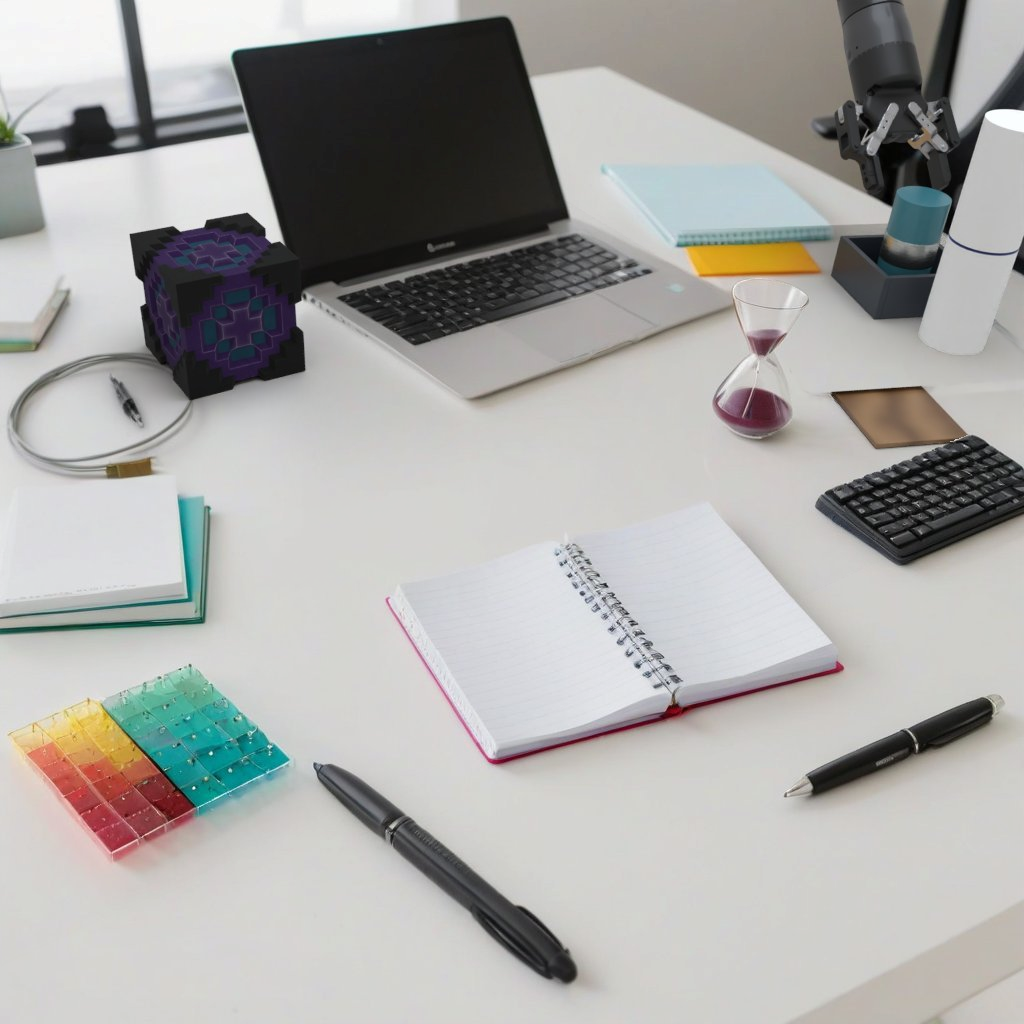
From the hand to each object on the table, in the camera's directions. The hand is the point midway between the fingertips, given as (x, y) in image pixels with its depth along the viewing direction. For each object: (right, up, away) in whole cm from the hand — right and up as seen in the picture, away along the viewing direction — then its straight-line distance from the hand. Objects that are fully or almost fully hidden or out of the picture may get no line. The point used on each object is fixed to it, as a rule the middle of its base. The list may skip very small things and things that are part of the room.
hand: (909, 190), depth 131 cm
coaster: (-7, -27, -15) cm, 32 cm away
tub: (0, -12, +6) cm, 13 cm away
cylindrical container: (+3, -18, -3) cm, 19 cm away
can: (0, -11, +5) cm, 12 cm away
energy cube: (-74, -21, -14) cm, 78 cm away
